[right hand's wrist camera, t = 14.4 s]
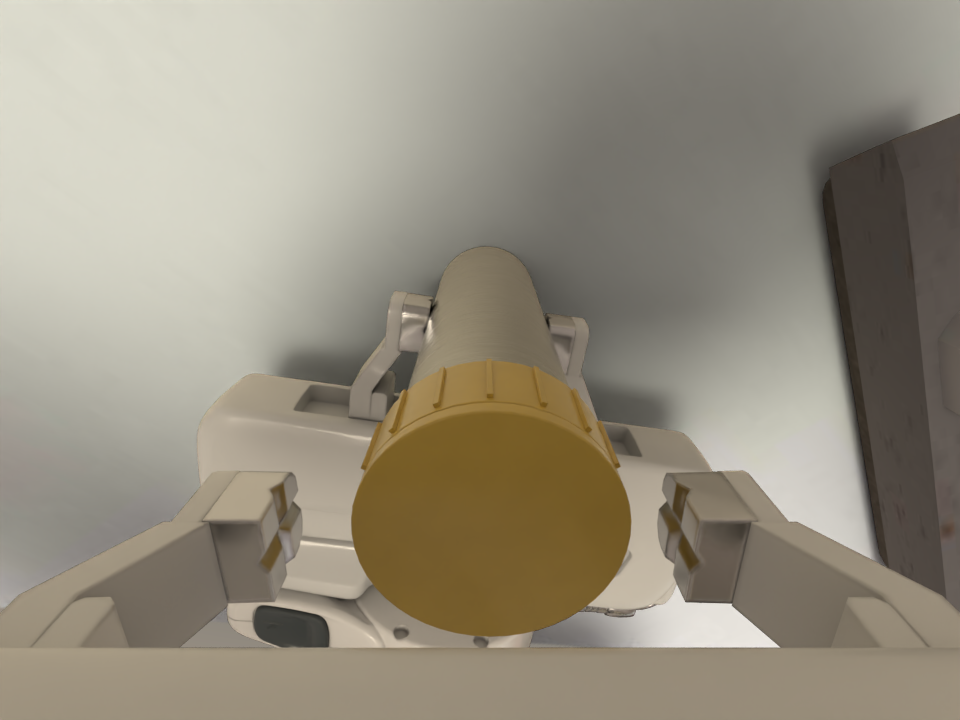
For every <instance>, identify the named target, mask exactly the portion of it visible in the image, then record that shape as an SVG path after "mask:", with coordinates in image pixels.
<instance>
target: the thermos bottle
mask: <svg viewBox="0 0 960 720" xmlns="http://www.w3.org/2000/svg"><path fill="white" fill-rule="evenodd" d="M486 359H492V361H504V362H512V363H517V364H522V365H526V366H529V367H532V368H533V367H534V366H537V367H539V370H541V371H543V372H545V373H547V374H549V375H551V376H553V377H555V378H556V379H558V380H560V381H561V382H563V383H564V384H566V385H567V386H568V383H567V380H566V377H565V374H564V371H563V369H562V366H561V363H560V360H559V357H558V354H557V351H556V349H555V346H554V343H553V340H552V337H551V334H550V331H549V329H548V326H547V323H546V320H545V317H544V314H543V311H542V309H541V306H540V303H539V300H538V297H537V294H536V291H535V289H534V286H533V283H532V280H531V277H530V275H529V273H528V270H527V269H526V267H525V266H524V264H523V263H522V262H521V261H520V260H519V259H518V258H517V257H516V256H514V255H513V254H511V253H509V252H507V251H506V250H503V249H500V248H496V247H488V246H485V247H477V248H472V249H469V250H467V251H465V252H463V253H461V254H460V255H458V256H457V257H456V258H454V259H453V260H452V261H451V263H450V264H449V265H448V266H447V268H446V269H445V271H444V273H443V275H442V278H441V281H440V284H439V288H438V291H437V294H436V298H435V301H434V304H433V308H432V311H431V314H430V318H429V321H428V324H427V327H426V331H425V334H424V337H423V341H422V344H421V347H420V350H419V354H418V357H417V360H416V364H415V367H414V370H413V373H412V377H411V380H410V383H409V387H408V389H410V388H411V387H412V386H413V385H414V384H416V383H417V382H419V381H421V380H422V379H424V378H425V377H427V376H429V375H431V374H433V373H436V372H438V371H439V368H441V367H445V368H448V367H452V366H455V365H458V364H463V363H469V362H475V361H486ZM568 387H569V386H568Z"/></svg>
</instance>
